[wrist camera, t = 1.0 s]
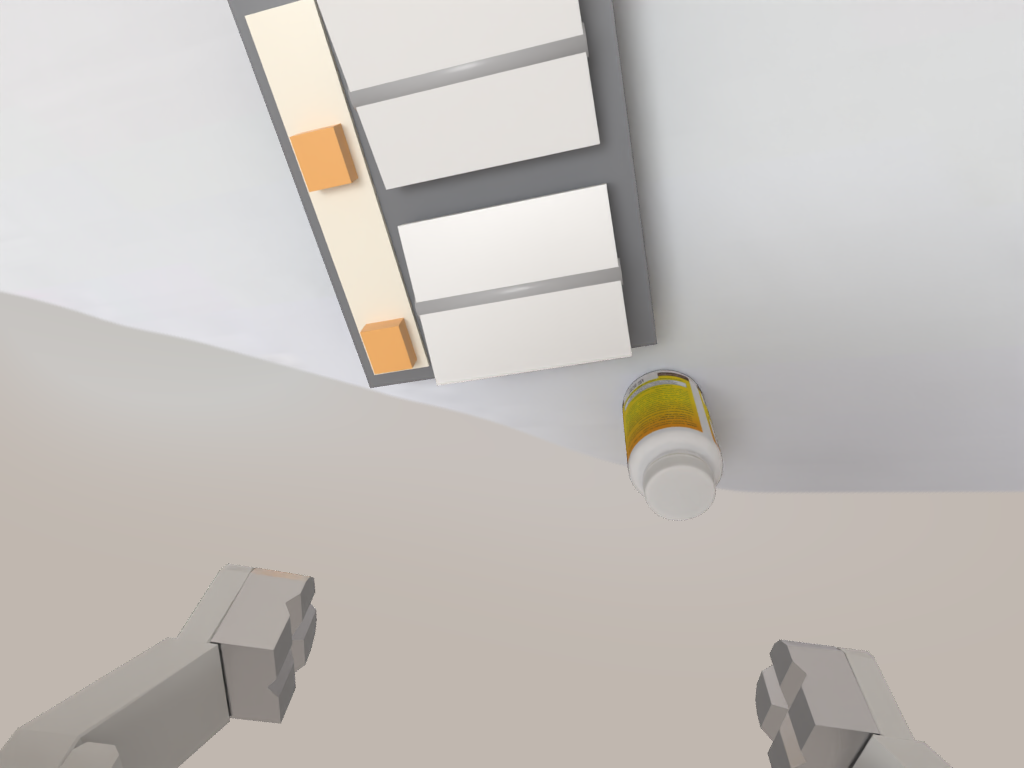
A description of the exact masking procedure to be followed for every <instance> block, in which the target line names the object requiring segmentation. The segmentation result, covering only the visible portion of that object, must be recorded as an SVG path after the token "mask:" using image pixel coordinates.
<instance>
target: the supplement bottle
mask: <svg viewBox="0 0 1024 768" xmlns="http://www.w3.org/2000/svg"><path fill="white" fill-rule="evenodd" d="M622 408H623V422H624V432H625V442H626V451H627V464H628V471H629V476H630V480H631V482H632V484H633V486H634V487H635V488H636V490H637V491H638V492H639V493H640V494H641V495H642V496H644V497H645V500H646V502H647V504H648V506H649V507H650V509H651V510H652V511H653V512H654V513H655V514H657V515H659V516H661V517H663V518H665V519H669V520H677V521H678V520H679V521H680V520H681V521H682V520H688V519H692V518H695V517H697V516H699V515H701V514H703V513H704V512H705V511H707V509H709V507H710V506H711V504H712V503H713V501H714V499H715V494H716V488H715V487H716V485H717V484H718V482H719V480H720V478H721V475H722V470H723V460H722V455H721V452H720V449H719V445H718V442H717V439H716V435H715V432H714V429H713V426H712V422H711V419H710V416H709V412H708V410H707V406H706V403H705V400H704V397H703V395H702V392H701V390H700V388H699V387H698V385H697V384H696V383H695V382H694V381H693V380H692V379H691V378H689V377H688V376H686V375H684V374H682V373H679V372H675V371H670V370H659V371H654V372H650V373H647V374H645V375H643V376H641V377H640V378H638V379H637V380H636V381H635V382H633V383H632V385H631V386H630V387H629V388H628V390H627V392H626V394H625V396H624V399H623V407H622Z"/></svg>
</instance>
